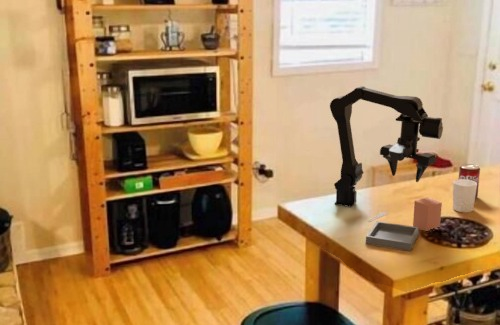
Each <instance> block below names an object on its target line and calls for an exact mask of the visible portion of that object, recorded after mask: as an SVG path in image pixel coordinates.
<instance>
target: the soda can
mask: <svg viewBox="0 0 500 325" xmlns="http://www.w3.org/2000/svg"><path fill="white" fill-rule="evenodd" d="M480 175H481V168H480V166H479V165H476V164H471V163H465V164H461V165H460V166H459V167H458V176H457V177H458V179H467V180H472V181H475V182H476V183H477V188H476V196H475V200H476V199H477V198H478V194H479V183H480ZM458 179H457V180H458Z"/></svg>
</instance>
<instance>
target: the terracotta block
mask: <svg viewBox="0 0 500 325" xmlns="http://www.w3.org/2000/svg"><path fill="white" fill-rule="evenodd" d="M442 206H443V202H441V201H438V200H436V199H433V198H430V197H425V198H420V199H416V200H414V205H413V218H412V219H413V221H412V225H413V227H419V231H420V230H421V231H422V230H425V231H428V230H430V229H433V228H437V227H440V228H441V216H442ZM425 231H424V232H425Z"/></svg>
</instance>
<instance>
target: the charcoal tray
mask: <svg viewBox="0 0 500 325" xmlns="http://www.w3.org/2000/svg"><path fill="white" fill-rule="evenodd" d="M419 233H420V229H419V227H413V226H412V225H406V224H397V223H391V222H387V221H379V220H377V221H376V222H375V223H374V225H373V226H372V228H371V229H370V230H369V231H368V233H367V235H366V236H365V245H371V246H376V247H383V248H388V249H395V250H401V251H408V252H411V251H412V249H413V247H414V246H415V243H416V241H417V239H418V237H419Z"/></svg>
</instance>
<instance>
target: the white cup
mask: <svg viewBox="0 0 500 325" xmlns="http://www.w3.org/2000/svg"><path fill="white" fill-rule="evenodd" d="M476 188H477V183H476V182H475V181H472V180H467V179H454V180H453V182H452V209H453V210H454V211H456V212H459V213H472V212H473V211H474V206H475V201H476V199H475V196H476Z"/></svg>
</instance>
